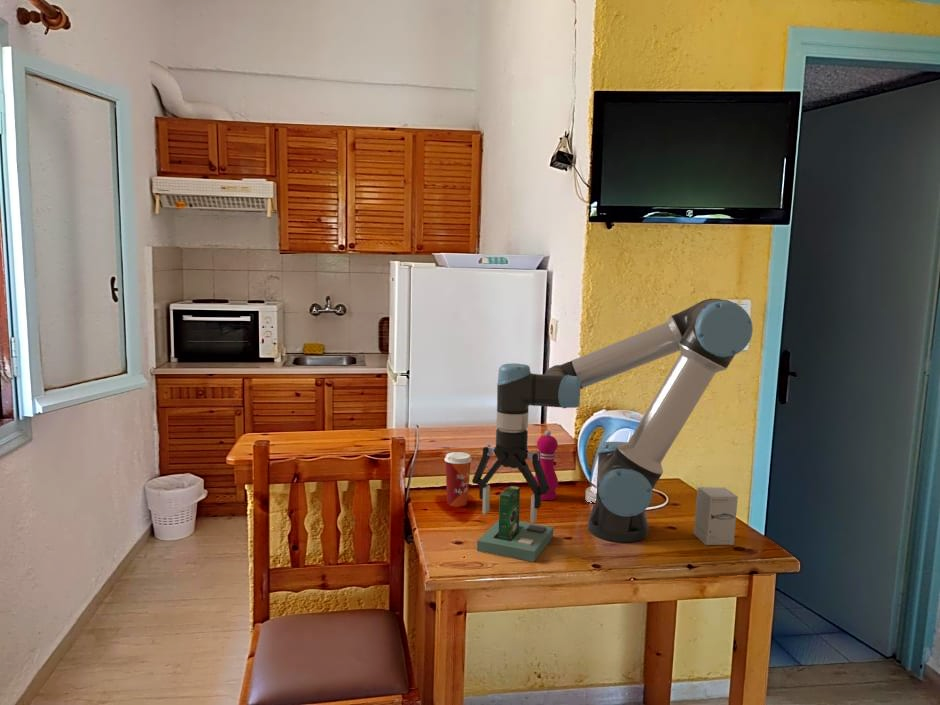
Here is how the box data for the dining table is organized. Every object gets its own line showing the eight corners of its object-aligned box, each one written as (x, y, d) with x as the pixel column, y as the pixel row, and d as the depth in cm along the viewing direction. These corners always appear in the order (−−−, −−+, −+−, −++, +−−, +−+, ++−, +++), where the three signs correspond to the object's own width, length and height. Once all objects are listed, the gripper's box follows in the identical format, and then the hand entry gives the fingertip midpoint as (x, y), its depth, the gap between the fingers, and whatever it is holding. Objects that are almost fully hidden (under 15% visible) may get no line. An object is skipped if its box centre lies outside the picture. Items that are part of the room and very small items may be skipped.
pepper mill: (539, 502, 191) (542, 434, 188) (528, 494, 197) (530, 428, 195) (562, 500, 193) (565, 432, 191) (550, 492, 200) (552, 426, 197)
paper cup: (461, 510, 183) (462, 460, 182) (438, 504, 187) (439, 456, 186) (476, 502, 190) (477, 454, 188) (453, 496, 194) (454, 449, 192)
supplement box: (705, 546, 163) (709, 496, 162) (693, 534, 171) (696, 486, 169) (734, 545, 164) (738, 496, 162) (721, 533, 171) (724, 486, 170)
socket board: (553, 536, 167) (553, 525, 166) (533, 562, 152) (534, 549, 152) (500, 527, 172) (500, 516, 172) (477, 550, 157) (477, 538, 157)
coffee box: (508, 535, 167) (510, 484, 165) (519, 537, 166) (521, 486, 164) (497, 547, 160) (498, 494, 158) (508, 549, 159) (509, 496, 157)
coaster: (618, 510, 187) (618, 498, 186) (582, 505, 190) (582, 493, 189) (621, 499, 196) (622, 487, 196) (587, 494, 199) (588, 483, 199)
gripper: (564, 431, 158) (561, 519, 161) (471, 420, 167) (469, 503, 170) (556, 438, 151) (552, 530, 154) (459, 426, 160) (457, 513, 163)
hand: (509, 516), depth 162 cm, fingers open, 11 cm apart
